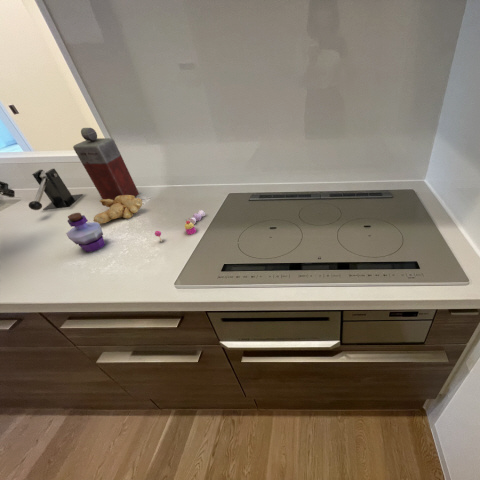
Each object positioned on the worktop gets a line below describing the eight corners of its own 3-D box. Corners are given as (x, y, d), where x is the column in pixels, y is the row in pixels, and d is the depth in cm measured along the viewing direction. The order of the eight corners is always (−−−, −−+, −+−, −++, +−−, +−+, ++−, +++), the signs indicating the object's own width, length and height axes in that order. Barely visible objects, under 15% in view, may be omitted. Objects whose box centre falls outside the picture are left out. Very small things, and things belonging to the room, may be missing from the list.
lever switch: (71, 209, 103) (48, 175, 94) (44, 212, 101) (19, 178, 93) (84, 196, 111) (65, 164, 103) (60, 199, 110) (38, 167, 102)
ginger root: (147, 196, 107) (138, 180, 101) (150, 223, 98) (140, 207, 92) (103, 206, 103) (90, 190, 96) (101, 235, 94) (87, 219, 87)
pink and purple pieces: (194, 215, 98) (189, 200, 94) (213, 218, 96) (208, 203, 92) (157, 243, 84) (150, 228, 80) (178, 248, 82) (171, 232, 79)
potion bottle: (82, 243, 85) (60, 211, 78) (113, 236, 88) (94, 205, 80) (75, 259, 78) (50, 226, 71) (109, 251, 81) (88, 218, 74)
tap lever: (43, 211, 93) (35, 205, 91) (32, 212, 93) (24, 207, 90) (55, 175, 101) (49, 169, 99) (46, 176, 101) (39, 170, 98)
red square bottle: (113, 194, 112) (75, 125, 95) (139, 194, 112) (106, 124, 95) (99, 205, 105) (56, 131, 88) (127, 204, 105) (89, 131, 88)
